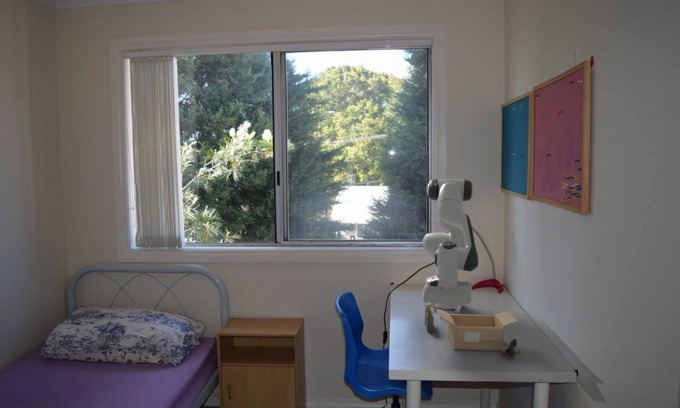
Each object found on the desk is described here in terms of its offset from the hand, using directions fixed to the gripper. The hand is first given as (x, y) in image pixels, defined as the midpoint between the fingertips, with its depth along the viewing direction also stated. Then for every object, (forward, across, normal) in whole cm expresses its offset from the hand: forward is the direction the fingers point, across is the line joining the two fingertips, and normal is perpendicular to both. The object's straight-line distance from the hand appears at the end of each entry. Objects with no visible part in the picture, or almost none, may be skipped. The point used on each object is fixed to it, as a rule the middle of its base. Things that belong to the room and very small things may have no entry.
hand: (446, 312), depth 203 cm
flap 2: (+3, -22, 0) cm, 23 cm away
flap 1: (+3, -2, 0) cm, 4 cm away
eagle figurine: (+13, -24, +12) cm, 30 cm away
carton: (+13, -12, 0) cm, 18 cm away
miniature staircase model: (+14, +5, -17) cm, 23 cm away
